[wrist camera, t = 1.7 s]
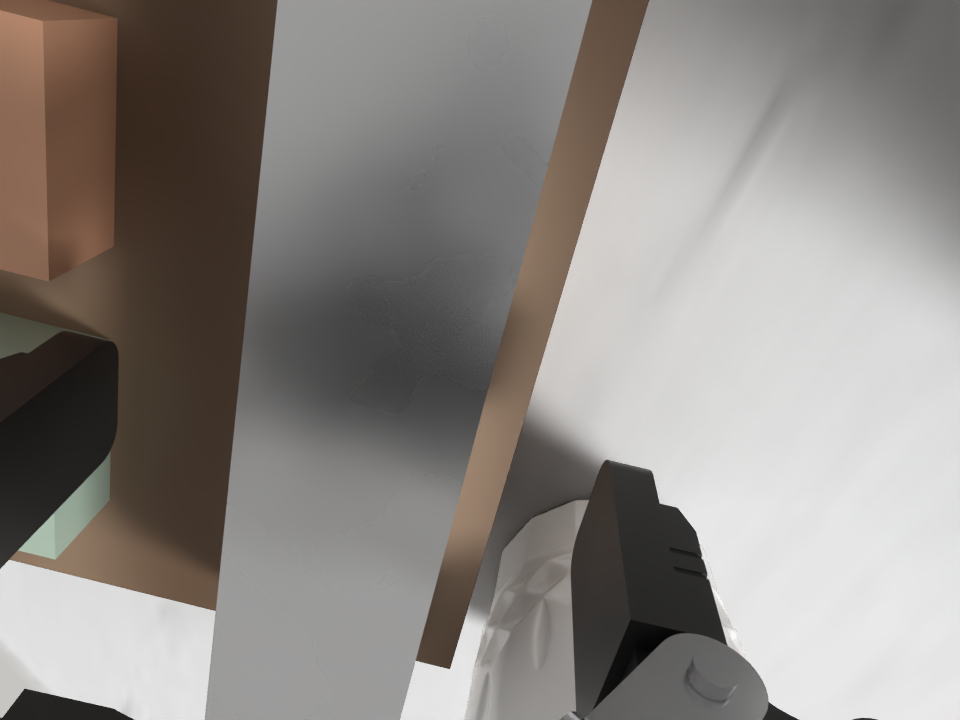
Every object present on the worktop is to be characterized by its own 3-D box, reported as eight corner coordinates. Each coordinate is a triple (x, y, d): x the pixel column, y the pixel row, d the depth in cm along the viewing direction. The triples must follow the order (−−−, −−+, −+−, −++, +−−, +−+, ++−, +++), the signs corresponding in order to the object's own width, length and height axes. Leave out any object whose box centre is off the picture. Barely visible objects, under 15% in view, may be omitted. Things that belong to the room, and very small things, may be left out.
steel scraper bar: (582, -3, 12) (592, -4, 7) (412, 643, 18) (362, 861, 13) (393, -52, 12) (285, -84, 7) (288, 612, 18) (194, 820, 13)
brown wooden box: (626, -15, 17) (655, -22, 12) (476, 515, 23) (449, 669, 18) (77, -156, 17) (-153, -230, 11) (79, 415, 23) (-67, 540, 18)
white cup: (446, 507, 24) (373, 821, 14) (704, 453, 22) (804, 772, 13) (519, 689, 26) (495, 1044, 17) (751, 654, 25) (858, 1027, 16)
